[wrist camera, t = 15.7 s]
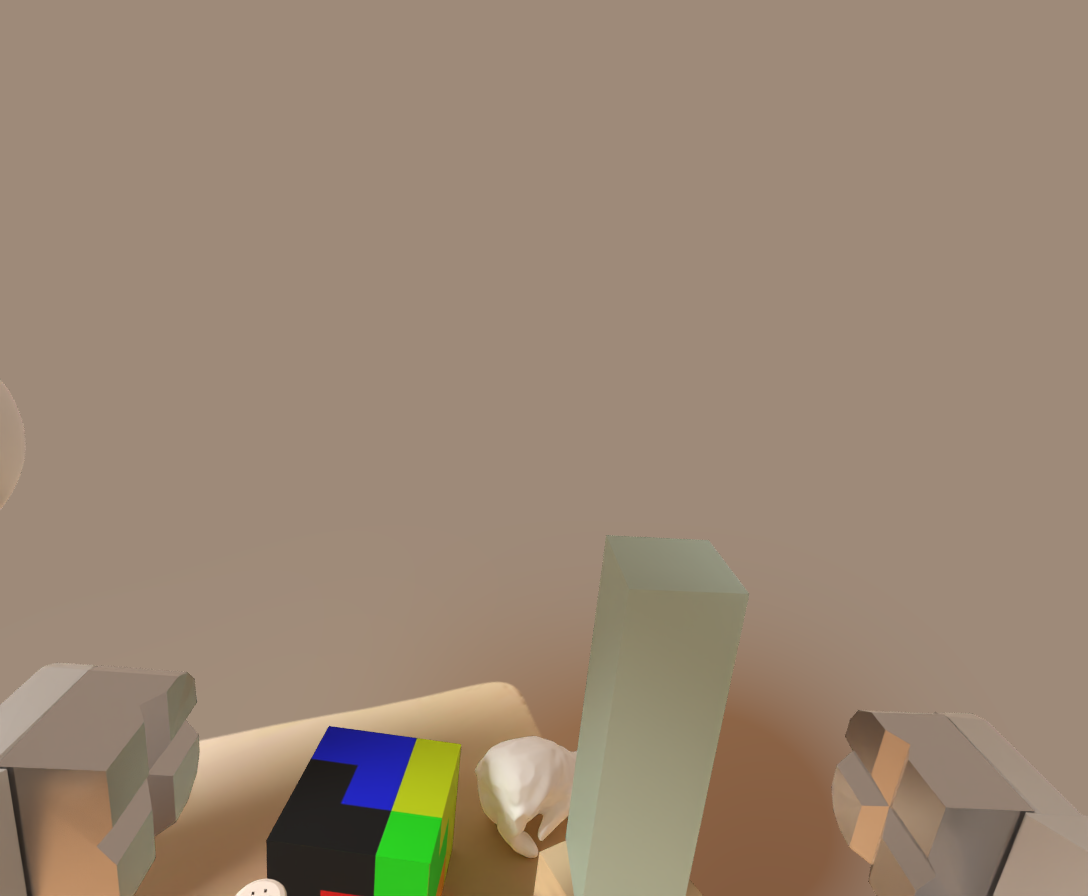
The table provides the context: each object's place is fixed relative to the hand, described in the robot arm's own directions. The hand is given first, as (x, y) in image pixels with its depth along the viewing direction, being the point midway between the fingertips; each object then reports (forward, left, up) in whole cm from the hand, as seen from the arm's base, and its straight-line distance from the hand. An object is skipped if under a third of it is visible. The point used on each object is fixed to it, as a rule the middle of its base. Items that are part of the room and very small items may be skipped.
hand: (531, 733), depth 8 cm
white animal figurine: (-30, +23, -40) cm, 55 cm away
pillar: (-15, +18, -28) cm, 37 cm away
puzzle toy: (-29, +8, -40) cm, 50 cm away
